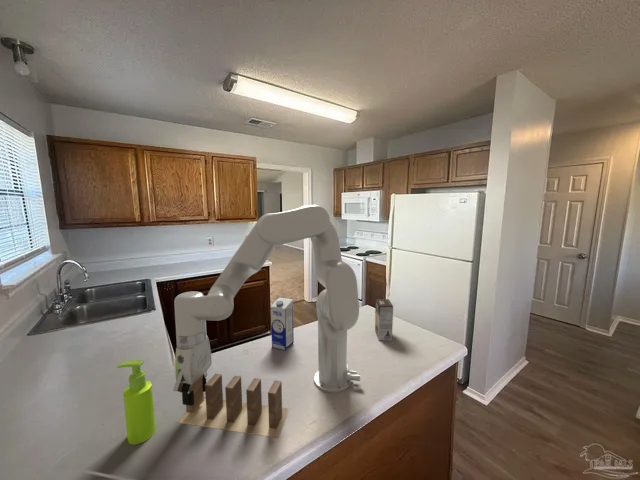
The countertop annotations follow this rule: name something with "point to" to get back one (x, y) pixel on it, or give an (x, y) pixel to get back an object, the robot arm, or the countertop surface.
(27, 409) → the countertop surface
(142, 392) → the soap dispenser
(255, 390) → the domino
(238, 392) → the domino
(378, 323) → the coffee box
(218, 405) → the domino
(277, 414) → the domino
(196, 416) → the runner
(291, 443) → the countertop surface
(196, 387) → the domino
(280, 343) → the milk carton
